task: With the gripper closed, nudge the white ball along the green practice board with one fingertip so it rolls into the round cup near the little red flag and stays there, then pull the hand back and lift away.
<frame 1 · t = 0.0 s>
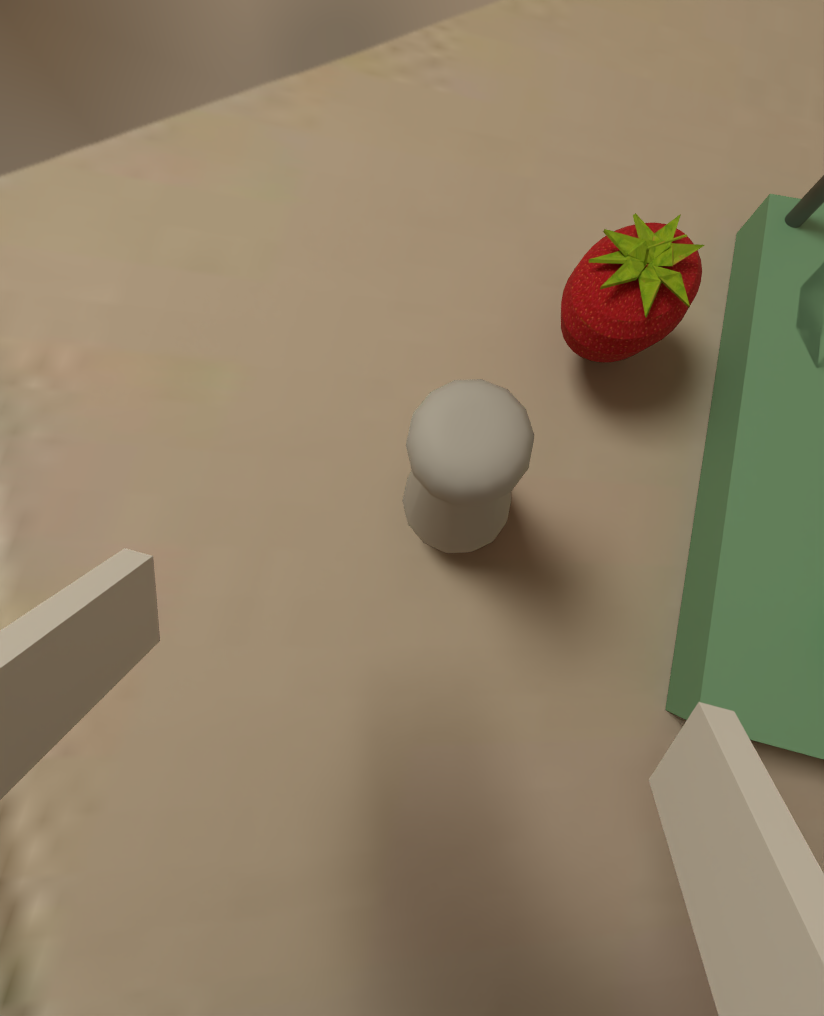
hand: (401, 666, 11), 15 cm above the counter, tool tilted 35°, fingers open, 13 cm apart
salt shaker: (454, 508, 28), on the counter
strawberry: (591, 349, 29), on the counter
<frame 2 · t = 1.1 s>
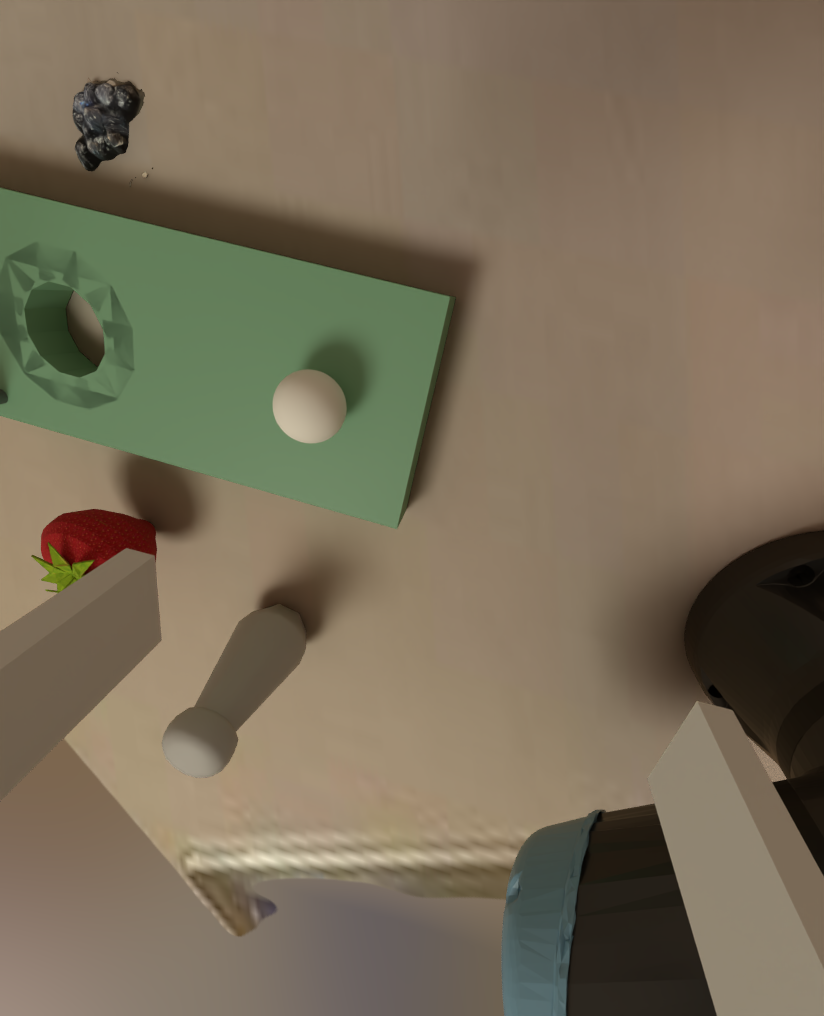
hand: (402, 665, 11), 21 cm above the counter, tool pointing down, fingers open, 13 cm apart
white ball: (310, 407, 26), point 5 cm above the counter, touching practice board
salt shaker: (283, 622, 39), on the counter
practice board: (211, 357, 31), on the counter
strawberry: (152, 523, 38), on the counter
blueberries: (117, 138, 27), on the counter
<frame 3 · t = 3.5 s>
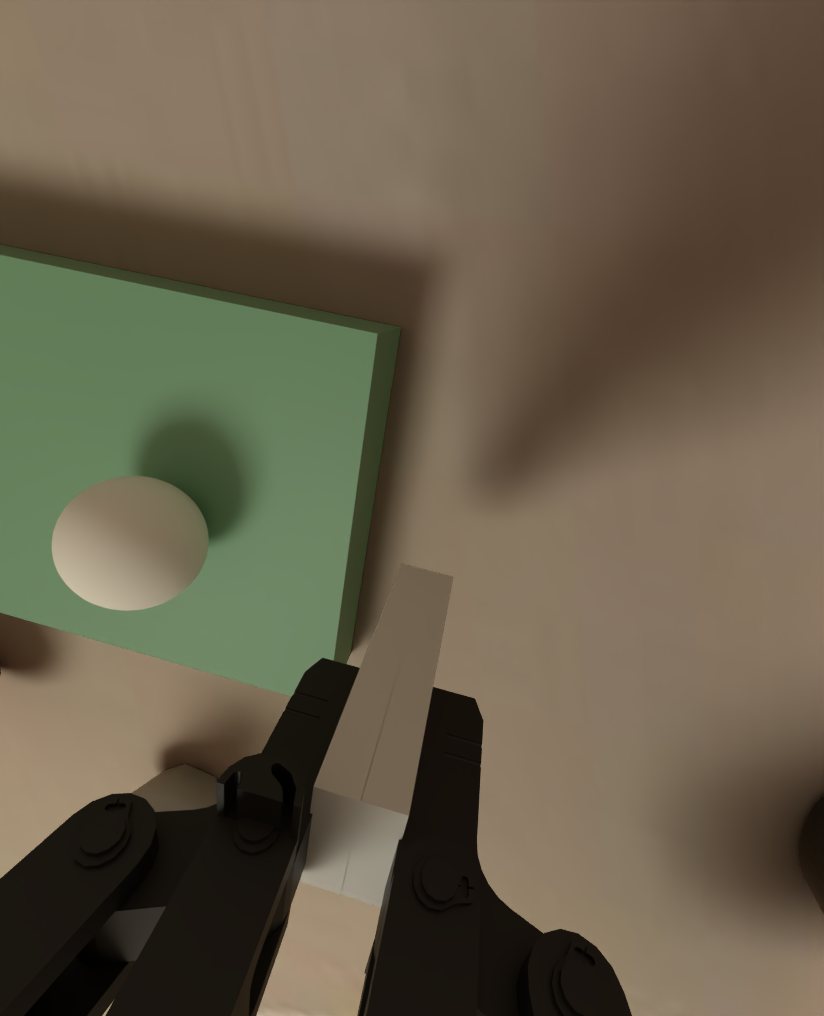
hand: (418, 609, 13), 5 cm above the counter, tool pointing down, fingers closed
white ball: (135, 542, 14), point 5 cm above the counter, touching practice board
salt shaker: (197, 784, 28), on the counter
practice board: (23, 432, 19), on the counter
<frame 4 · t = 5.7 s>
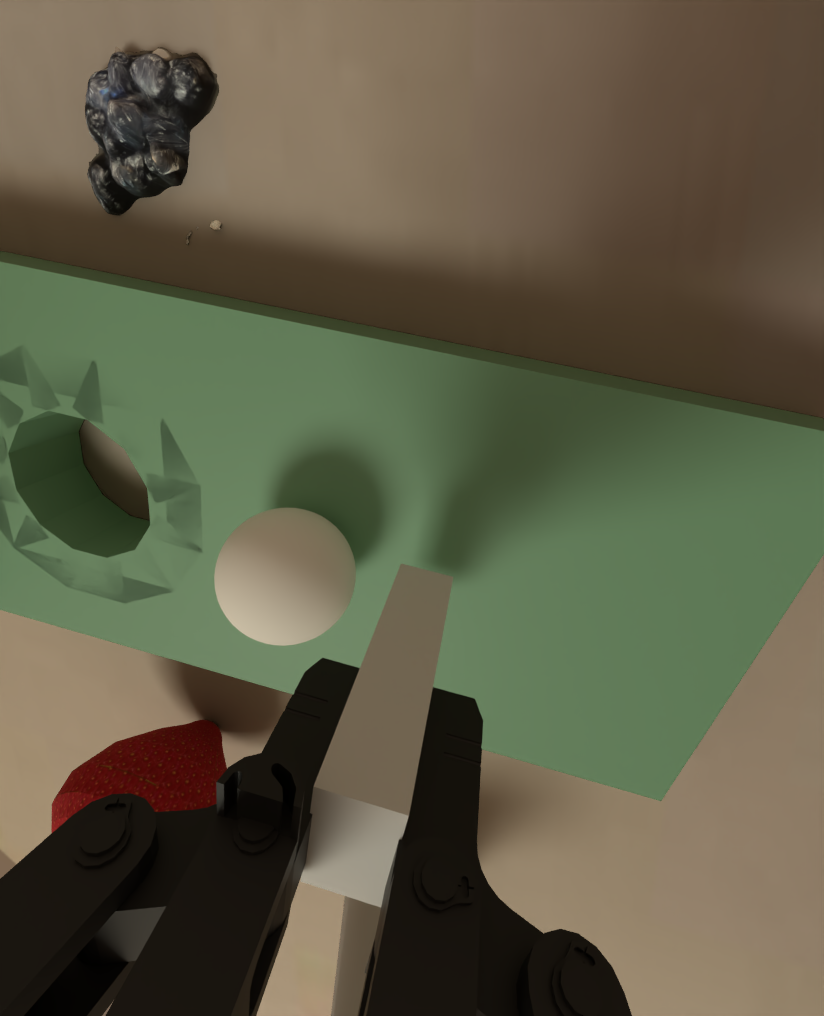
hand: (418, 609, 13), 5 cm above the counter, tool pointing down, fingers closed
white ball: (287, 575, 14), point 5 cm above the counter, tilted 126°, touching practice board
salt shaker: (409, 849, 27), on the counter
practice board: (323, 507, 18), on the counter
strawberry: (215, 719, 25), on the counter
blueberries: (166, 158, 15), on the counter
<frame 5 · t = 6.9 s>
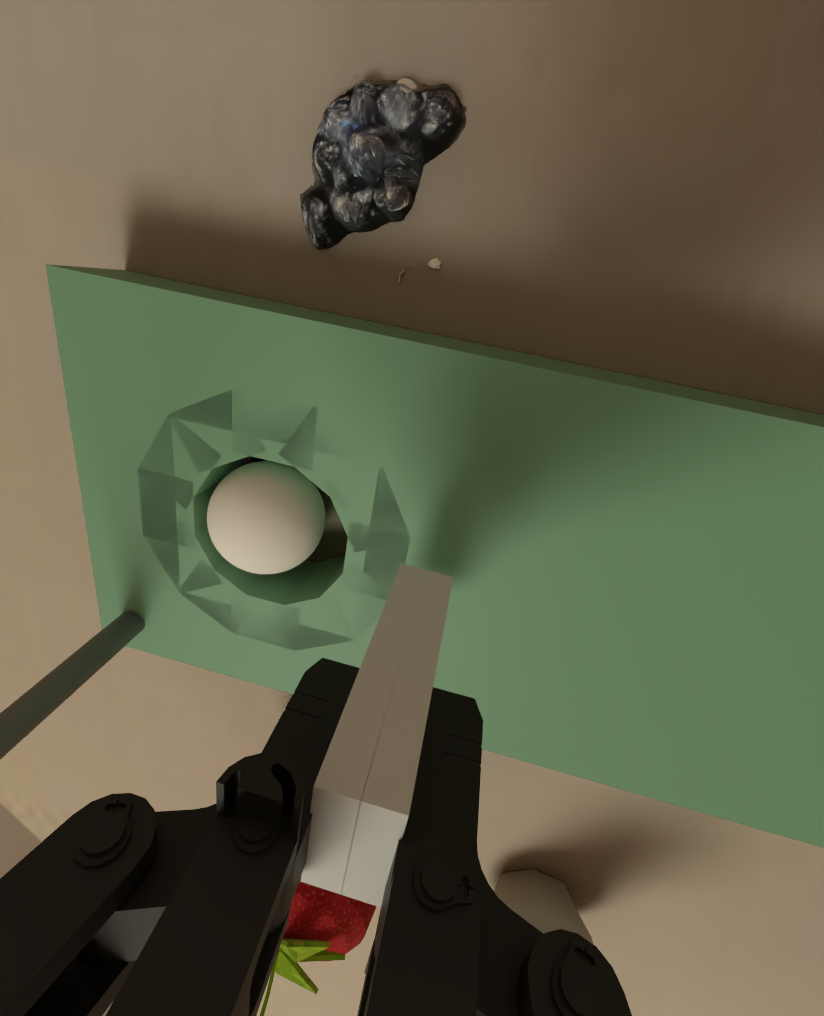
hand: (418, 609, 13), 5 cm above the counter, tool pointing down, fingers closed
white ball: (268, 517, 16), point 2 cm above the counter, tilted 162°
salt shaker: (532, 887, 26), on the counter
practice board: (504, 550, 17), on the counter
strawberry: (339, 756, 24), on the counter
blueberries: (382, 191, 14), on the counter
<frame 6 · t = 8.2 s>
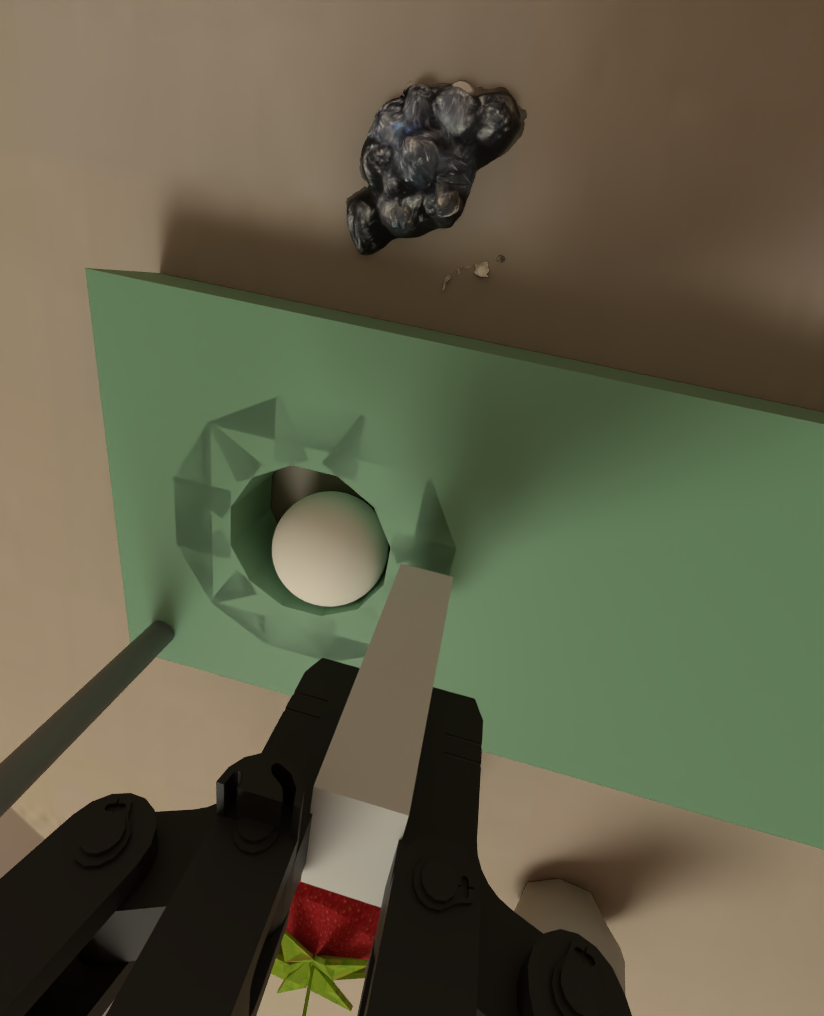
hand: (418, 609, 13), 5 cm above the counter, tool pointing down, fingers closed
white ball: (331, 548, 16), point 2 cm above the counter, tilted 129°
salt shaker: (557, 896, 26), on the counter
practice board: (543, 559, 17), on the counter
strawberry: (364, 765, 24), on the counter
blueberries: (429, 196, 14), on the counter
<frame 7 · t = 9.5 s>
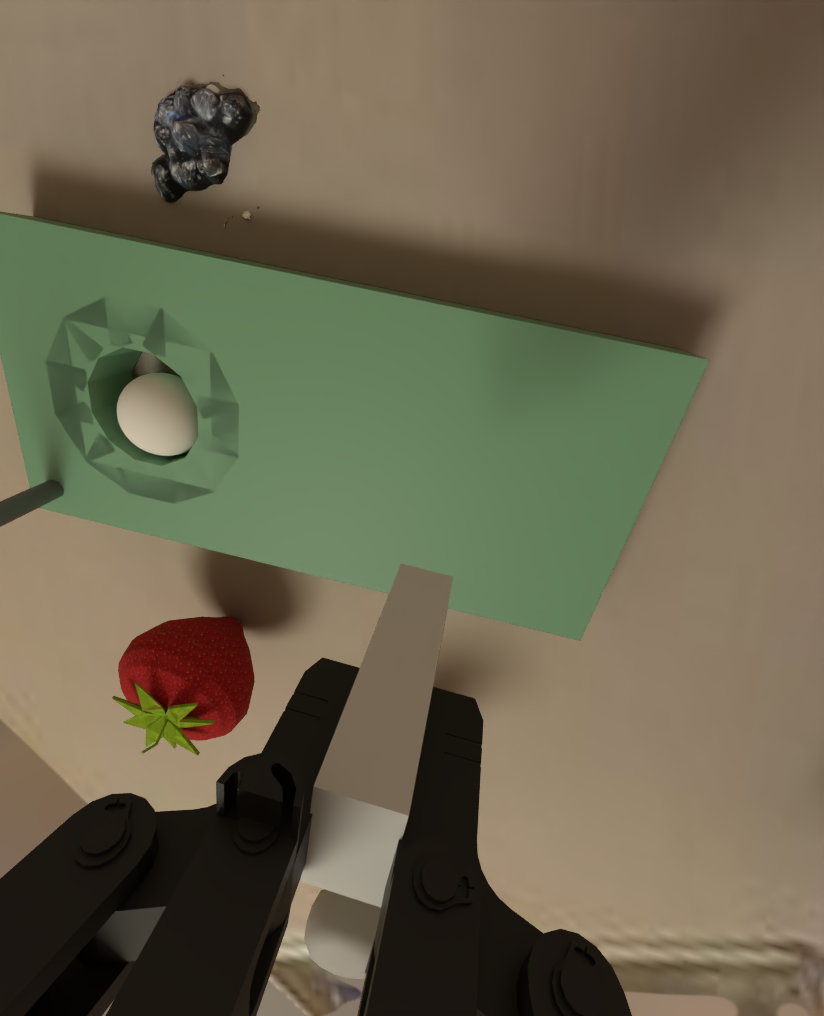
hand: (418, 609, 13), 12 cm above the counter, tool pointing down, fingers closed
white ball: (164, 414, 23), point 2 cm above the counter, tilted 134°
salt shaker: (396, 723, 33), on the counter
practice board: (327, 429, 24), on the counter
strawberry: (236, 617, 31), on the counter
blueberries: (210, 162, 20), on the counter
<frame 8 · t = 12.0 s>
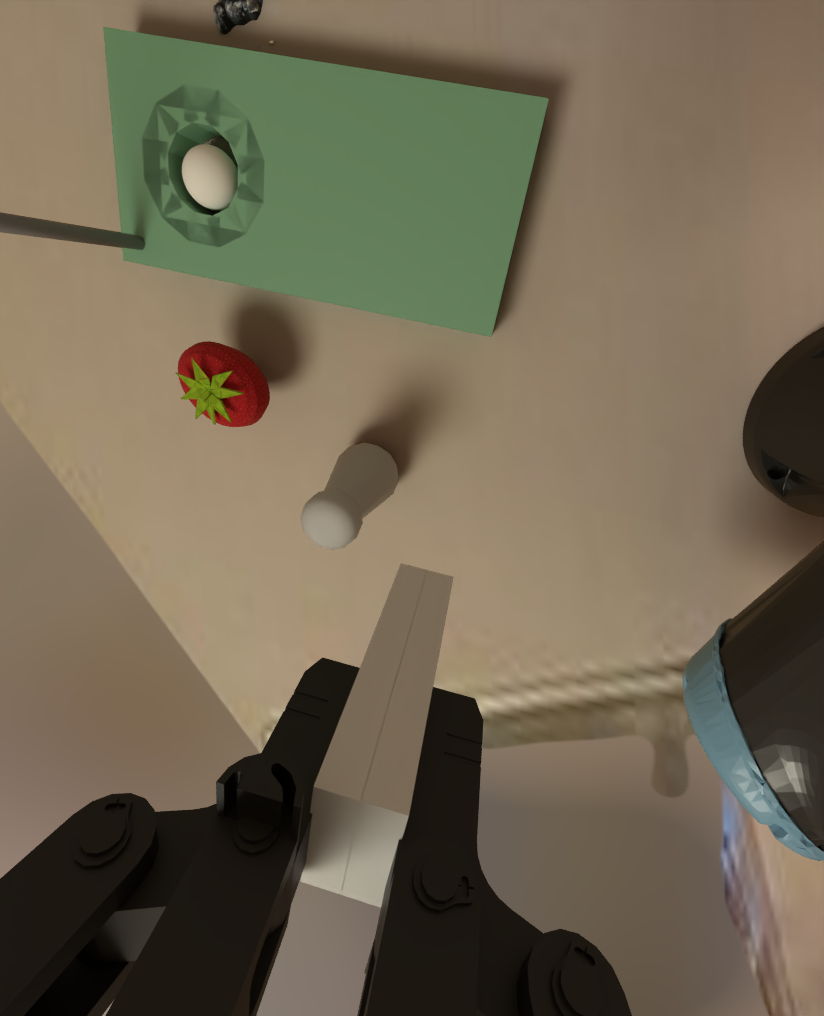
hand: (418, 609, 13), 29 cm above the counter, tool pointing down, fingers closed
white ball: (211, 178, 34), point 2 cm above the counter, tilted 143°
salt shaker: (373, 465, 44), on the counter
practice board: (322, 198, 35), on the counter
strawberry: (257, 375, 42), on the counter
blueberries: (250, 7, 32), on the counter
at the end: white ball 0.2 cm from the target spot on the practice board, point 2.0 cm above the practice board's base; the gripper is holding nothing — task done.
